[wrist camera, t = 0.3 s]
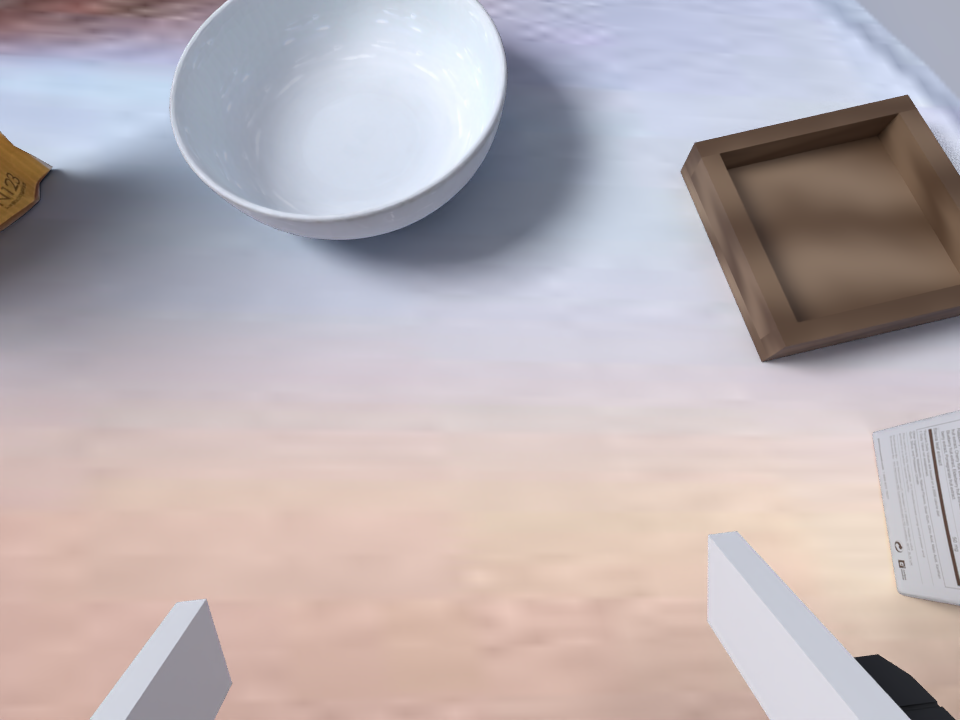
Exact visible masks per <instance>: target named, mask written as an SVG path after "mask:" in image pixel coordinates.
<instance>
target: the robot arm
mask: <svg viewBox="0 0 960 720" xmlns="http://www.w3.org/2000/svg"><path fill="white" fill-rule="evenodd" d="M708 623H709V625H710V626H711V628H712V629H713V631H714V633H715V634H716V636H717V637H718V639H719V640H720V642H721V643H722V645H723V647H724V648H725V650H726V651H727V653H728V654H729V656H730V658H731V659H732V661H733V662H734V664H735V665H736V667H737V669H738V670H739V672H740V673H741V675H742V676H743V678H744V680H745V681H746V683H747V684H748V686H749V687H750V689H751V691H752V692H753V694H754V695H755V697H756V698H757V700H758V702H759V703H760V705H761V706H762V708H763V709H764V711H765V713H766V714H767V716H768V717H769V719H770V720H955V719H954V718H953V717H952V716H951V715H950V714H949V713H948V712H947V711H946V710H945V709H944V708H943V707H940V706H939V705H938V704H937V701H936V700H935V699H934V698H933V697H932V696H931V695H930V694H929V693H928V692H927V691H926V690H925V689H924V688H923V687H922V686H921V685H920V684H919V683H918V682H917V681H916V680H915V679H914V678H913V677H912V676H911V675H909V674H908V673H906V672H905V671H903V670H902V669H900V668H898V667H897V666H895V665H894V664H892V663H891V662H889V661H887V660H886V659H884V658H883V657H881V656H880V655H878V654H877V655H870V656H862V657H854V658H853V656H852V655H851V654H850V653H849V652H848V651H847V650H846V649H845V648H844V647H843V646H842V644H841V643H840V642H839V641H838V640H837V639H836V638H835V637H834V636H833V635H832V634H831V633H830V631H829V630H828V629H827V628H826V627H825V626H824V625H823V624H822V623H821V622H820V621H819V620H818V618H817V617H816V616H815V615H814V614H813V613H812V612H811V611H810V610H809V609H808V608H807V607H806V605H805V604H804V603H803V602H802V601H801V600H800V599H799V598H798V597H797V596H796V595H795V594H794V592H793V591H792V590H791V589H790V588H789V587H788V586H787V585H786V584H785V583H784V582H783V581H782V579H781V578H780V577H779V576H778V575H777V574H776V573H775V572H774V571H773V570H772V569H771V568H770V566H769V565H768V564H767V563H766V562H765V561H764V560H763V559H762V558H761V557H760V556H759V555H758V553H757V552H756V551H755V550H754V549H753V548H752V547H751V546H750V545H749V544H748V543H747V542H746V540H745V539H744V538H743V537H742V536H741V535H740V534H739V533H738V532H737V531H735V532H727V533H719V534H711V535H708ZM231 685H232V681H231V678H230V675H229V671H228V668H227V665H226V662H225V658H224V655H223V652H222V648H221V645H220V642H219V639H218V635H217V632H216V629H215V625H214V622H213V619H212V616H211V612H210V609H209V606H208V602H207V599H200V600H192V601H184V602H177V603H176V604H175V605H174V607H173V608H172V609H171V611H170V612H169V613H168V615H167V616H166V617H165V619H164V620H163V621H162V623H161V624H160V626H159V627H158V628H157V630H156V631H155V632H154V634H153V635H152V636H151V638H150V639H149V640H148V642H147V643H146V644H145V646H144V647H143V648H142V650H141V651H140V652H139V654H138V655H137V656H136V658H135V659H134V660H133V662H132V663H131V664H130V666H129V667H128V669H127V670H126V671H125V673H124V674H123V675H122V677H121V678H120V679H119V681H118V682H117V683H116V685H115V686H114V687H113V689H112V690H111V691H110V693H109V694H108V695H107V697H106V698H105V699H104V701H103V702H102V703H101V705H100V706H99V708H98V709H97V710H96V712H95V713H94V714H93V716H92V717H91V718H90V720H214V719H215V717H216V715H217V713H218V711H219V709H220V707H221V705H222V703H223V701H224V699H225V697H226V695H227V693H228V691H229V689H230V687H231Z"/></svg>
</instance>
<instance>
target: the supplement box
mask: <svg viewBox="0 0 960 720" xmlns="http://www.w3.org/2000/svg"><path fill="white" fill-rule="evenodd" d="M872 435H873V442H874V449H875V455H876V462H877V468H878V474H879V480H880V486H881V493H882V499H883V506H884V512H885V518H886V524H887V530H888V536H889V542H890V548H891V554H892V561H893V567H894V573H895V579H896V585H897V590H898V592H899V593H900V594H902V595H904V596H909V597H914V598H920V599H925V600H930V601H936V602H942V603H947V604H953V605H958V606H960V410H959V411H954V412H950V413H946V414H943V415H939V416H935V417H931V418H927V419H923V420H919V421H915V422H911V423H907V424H903V425H899V426H895V427H892V428H888V429H884V430H880V431H876V432H874V433H873V434H872Z"/></svg>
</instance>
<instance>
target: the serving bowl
mask: <svg viewBox="0 0 960 720" xmlns="http://www.w3.org/2000/svg"><path fill="white" fill-rule="evenodd" d="M506 89H507V62H506V55H505V51H504V47H503V43H502V40H501V37H500V35H499V32H498V30H497V28H496V26H495V24H494V22H493V21H492V19H491V17H490V16H489V14H488V13H487V12H486V10H485V9H484V8H483V6H482V5H481V4H480V3H479V2H478V1H477V0H228V1H226V2H225V3H224V4H223V5H222V6H221V7H220V8H218V9H217V10H216V11H215V12H214V13H213V14H212V15H211V16H210V17H209V18H208V19H207V20H206V21H205V22H204V23H203V24H202V26H201V27H200V28H199V29H198V31H197V32H196V33H195V34H194V36H193V37H192V39H191V40H190V42H189V43H188V45H187V46H186V48H185V50H184V52H183V54H182V56H181V58H180V60H179V62H178V65H177V67H176V70H175V74H174V78H173V82H172V87H171V92H170V106H169V109H170V119H171V125H172V129H173V133H174V136H175V139H176V142H177V144H178V146H179V149H180V151H181V153H182V155H183V157H184V158H185V160H186V162H187V163H188V165H189V166H190V167H191V169H192V170H193V171H194V172H195V173H196V174H197V175H198V177H199V178H200V179H201V180H202V181H203V182H204V183H205V184H206V185H208V186H209V187H210V188H211V189H212V190H213V191H215V192H216V193H217V194H218V195H219V196H221V197H222V198H223V199H225V200H226V201H227V202H228V203H230V204H231V205H232V206H234V207H235V208H237V209H238V210H240V211H242V212H243V213H245V214H246V215H248V216H250V217H252V218H254V219H255V220H257V221H259V222H261V223H264V224H266V225H268V226H271V227H273V228H275V229H278V230H281V231H284V232H287V233H291V234H295V235H299V236H303V237H309V238H316V239H328V240H348V239H358V238H366V237H372V236H377V235H381V234H385V233H388V232H392V231H395V230H398V229H400V228H403V227H406V226H408V225H410V224H412V223H414V222H417V221H419V220H420V219H422V218H424V217H426V216H428V215H429V214H431V213H432V212H434V211H436V210H437V209H439V208H440V207H441V206H442V205H444V204H445V203H446V202H448V201H449V200H450V199H451V198H452V197H454V196H455V195H456V194H457V193H458V192H459V191H460V190H461V189H462V188H463V187H464V186H465V185H466V184H467V182H468V181H469V180H470V179H471V178H472V176H473V175H474V174H475V172H476V171H477V169H478V168H479V167H480V165H481V164H482V162H483V160H484V159H485V157H486V155H487V153H488V151H489V149H490V147H491V144H492V142H493V140H494V137H495V135H496V132H497V129H498V126H499V123H500V119H501V115H502V111H503V106H504V102H505V97H506Z"/></svg>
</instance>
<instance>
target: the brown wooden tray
mask: <svg viewBox="0 0 960 720" xmlns="http://www.w3.org/2000/svg"><path fill="white" fill-rule="evenodd" d="M681 174H682V176H683V178H684V181H685V183H686V185H687V188H688V190H689V192H690V195H691V197H692V199H693V202H694V204H695V206H696V209H697V211H698V213H699V216H700V218H701V221H702V223H703V225H704V228H705V230H706V232H707V235H708V237H709V239H710V242H711V244H712V246H713V249H714V251H715V253H716V256H717V258H718V260H719V263H720V265H721V267H722V270H723V272H724V274H725V277H726V279H727V281H728V284H729V286H730V288H731V291H732V293H733V296H734V298H735V300H736V303H737V305H738V307H739V310H740V312H741V314H742V317H743V319H744V321H745V324H746V326H747V328H748V331H749V333H750V335H751V338H752V340H753V342H754V345H755V347H756V349H757V352H758V354H759V356H760V359H761V361H762V362H764V361H768V360H772V359H776V358H781V357H785V356H789V355H793V354H798V353H802V352H806V351H810V350H815V349H819V348H823V347H827V346H832V345H836V344H840V343H844V342H849V341H853V340H857V339H861V338H866V337H870V336H874V335H878V334H883V333H887V332H891V331H895V330H900V329H904V328H908V327H912V326H917V325H921V324H925V323H930V322H934V321H938V320H942V319H947V318H951V317H955V316H959V315H960V176H959V174H958V173H957V171H956V169H955V168H954V166H953V165H952V163H951V162H950V160H949V158H948V157H947V155H946V154H945V152H944V151H943V149H942V147H941V146H940V144H939V143H938V141H937V140H936V138H935V136H934V135H933V133H932V132H931V130H930V129H929V127H928V125H927V124H926V122H925V121H924V119H923V118H922V116H921V115H920V113H919V111H918V110H917V108H916V107H915V105H914V104H913V102H912V100H911V99H910V97H909V96H908V95H904V96H900V97H895V98H891V99H886V100H882V101H878V102H873V103H869V104H864V105H860V106H855V107H851V108H847V109H842V110H838V111H833V112H829V113H824V114H820V115H816V116H811V117H807V118H802V119H798V120H793V121H789V122H785V123H780V124H776V125H771V126H767V127H762V128H758V129H754V130H749V131H745V132H740V133H736V134H731V135H727V136H723V137H718V138H714V139H709V140H705V141H700V142H696V143H694V145H693V147H692V149H691V151H690V153H689V155H688V157H687V159H686V162H685V164H684V166H683V168H682V170H681Z"/></svg>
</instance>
